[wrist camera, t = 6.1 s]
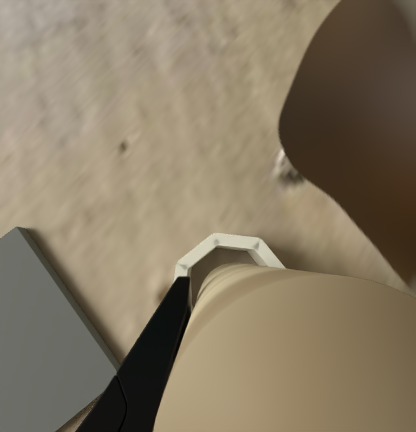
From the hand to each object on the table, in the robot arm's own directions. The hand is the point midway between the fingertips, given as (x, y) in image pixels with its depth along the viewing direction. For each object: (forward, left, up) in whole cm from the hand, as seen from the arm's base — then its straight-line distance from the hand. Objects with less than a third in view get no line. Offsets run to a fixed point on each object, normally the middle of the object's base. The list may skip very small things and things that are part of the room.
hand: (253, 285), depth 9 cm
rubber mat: (+6, +18, -13) cm, 23 cm away
